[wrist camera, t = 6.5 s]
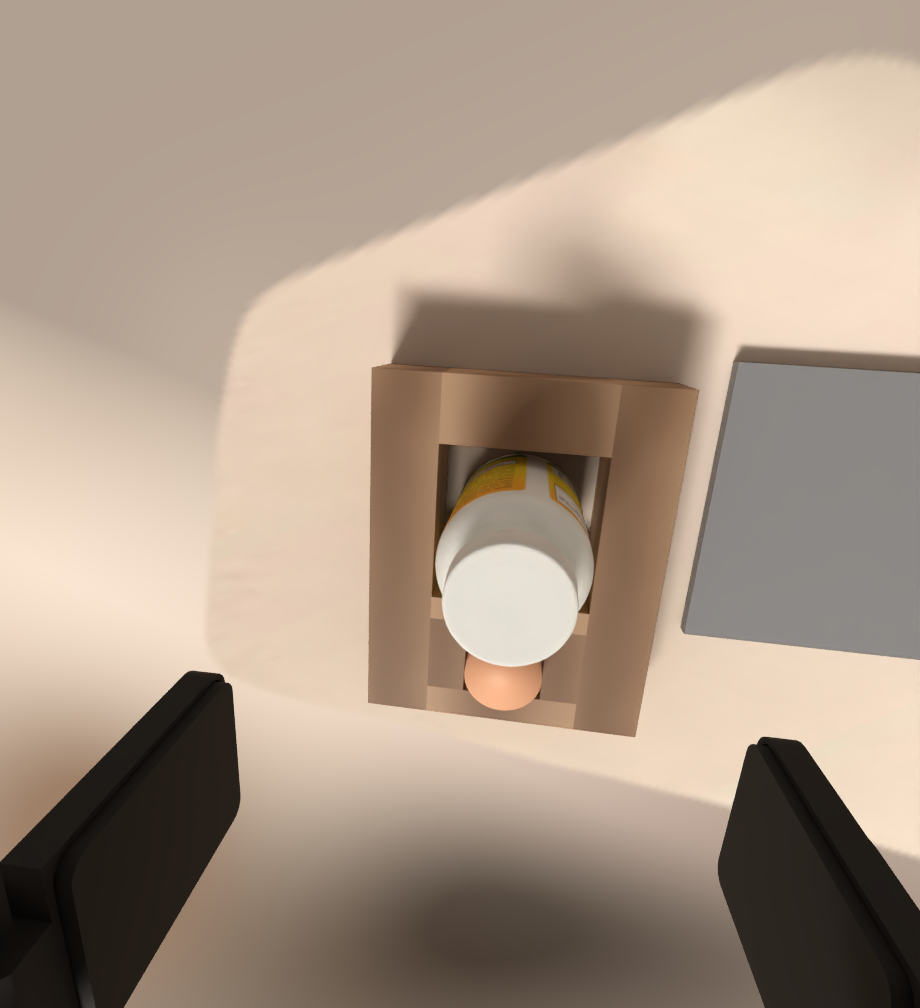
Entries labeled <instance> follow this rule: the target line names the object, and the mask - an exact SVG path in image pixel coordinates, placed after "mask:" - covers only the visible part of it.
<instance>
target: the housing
mask: <svg viewBox="0 0 920 1008" xmlns="http://www.w3.org/2000/svg"><path fill="white" fill-rule="evenodd" d="M698 393H699V390H697V389H694V388H691V387H688V386H685V385H682V384H679V383H667V382H653V381H638V380H623V379H608V378H594V377H579V376H564V375H550V374H535V373H520V372H505V371H491V370H476V369H461V368H447V367H432V366H417V365H403V364H387V365H382V366H377V367H373V368H372V392H371V486H370V580H369V675H368V703H374V704H382V705H390V706H397V707H405V708H413V709H421V710H428V711H436V712H444V713H452V714H459V715H467V716H475V717H483V718H490V719H498V720H506V721H514V722H521V723H529V724H537V725H545V726H552V727H560V728H568V729H575V730H583V731H591V732H599V733H606V734H614V735H622V736H630V737H635V735H636V730H637V725H638V719H639V714H640V708H641V703H642V697H643V692H644V686H645V681H646V676H647V670H648V665H649V659H650V654H651V648H652V643H653V638H654V632H655V627H656V621H657V616H658V610H659V605H660V600H661V594H662V589H663V583H664V578H665V572H666V567H667V562H668V556H669V551H670V545H671V540H672V534H673V529H674V524H675V518H676V513H677V507H678V502H679V496H680V491H681V486H682V480H683V475H684V469H685V464H686V458H687V453H688V447H689V442H690V437H691V431H692V426H693V420H694V415H695V409H696V404H697V399H698ZM449 445H461V446H474V447H486V448H498V449H510V450H523V451H535V452H547V453H559V454H572V455H584V456H596V457H600V461H599V468H598V475H597V483H596V490H595V497H594V505H593V512H592V519H591V527H590V534H589V539H590V543H591V548H592V553H593V559H594V574H593V581H592V585H591V588H590V591H589V594H588V597H587V599H586V600H585V602H584V604H583V606H582V607H581V609H580V610H579V611H578V618H577V621H576V625H575V627H574V630H573V632H572V634H571V636H570V637H569V638H568V640H567V641H566V643H565V644H564V645H563V646H562V647H561V648H560V649H559V650H558V651H557V652H555V653H554V654H553V655H551V656H550V657H548V658H546V659H544V660H542V661H541V665H542V684H541V688H540V690H539V692H538V694H537V696H536V697H535V698H534V699H533V700H532V701H531V702H530V703H529V704H527V705H525V706H524V707H521V708H518V709H515V710H506V711H504V710H496V709H492V708H489V707H487V706H485V705H483V704H481V703H480V702H478V701H477V700H476V699H475V698H474V697H473V696H472V695H471V693H470V692H469V690H468V688H467V686H466V683H465V678H464V671H465V666H466V660H467V655H468V652H467V651H466V650H465V649H463V648H462V647H461V646H460V645H459V643H458V642H457V641H456V640H455V639H454V637H453V636H452V635H451V633H450V631H449V629H448V627H447V625H446V622H445V619H444V615H443V610H442V593H441V591H440V588H439V585H438V581H437V577H436V567H435V561H436V552H437V547H438V543H439V540H440V538H441V535H442V533H443V530H444V524H445V506H446V487H447V468H448V449H449Z"/></svg>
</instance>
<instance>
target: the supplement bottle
mask: <svg viewBox="0 0 920 1008" xmlns="http://www.w3.org/2000/svg"><path fill="white" fill-rule="evenodd" d="M435 567H436V577H437V581H438V585H439V588H440V591H441V593H442V610H443V615H444V619H445V622H446V625H447V627H448V629H449V631H450V633H451V635H452V636H453V637H454V639H455V640H456V641H457V642H458V643H459V645H460V646H461V647H462V648H463V649H465V650H466V651H467V652H469V653H470V654H471V655H473V656H475V657H476V658H478V659H480V660H483V661H485V662H488V663H491V664H494V665H499V666H508V667H517V666H525V665H529V664H533V663H537V662H540V661H542V660H544V659H546V658H548V657H550V656H551V655H553V654H554V653H555V652H557V651H558V650H559V649H560V648H561V647H562V646H563V645H564V644H565V643H566V641H567V640H568V638H569V637H570V636H571V634H572V632H573V630H574V627H575V625H576V621H577V618H578V611H579V610H580V609H581V607H582V606H583V604H584V602H585V600H586V599H587V597H588V594H589V591H590V588H591V585H592V581H593V574H594V559H593V553H592V548H591V543H590V539H589V535H588V532H587V528H586V524H585V521H584V518H583V513H582V509H581V506H580V501H579V498H578V495H577V492H576V490H575V488H574V486H573V484H572V482H571V481H570V479H569V478H568V476H567V475H566V474H565V473H564V472H563V471H562V470H561V469H560V468H559V467H557V466H556V465H555V464H553V463H552V462H550V461H548V460H546V459H544V458H541V457H539V456H535V455H531V454H521V453H517V454H509V455H505V456H501V457H499V458H496V459H493V460H491V461H489V462H488V463H486V464H484V465H483V466H481V467H480V468H479V469H478V470H477V471H476V472H475V473H474V474H473V475H472V476H471V477H470V478H469V480H468V481H467V483H466V484H465V486H464V488H463V490H462V492H461V495H460V497H459V499H458V501H457V503H456V506H455V508H454V510H453V512H452V514H451V516H450V518H449V520H448V522H447V524H446V526H445V528H444V530H443V533H442V535H441V538H440V540H439V543H438V547H437V552H436V561H435Z"/></svg>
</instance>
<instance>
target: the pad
mask: <svg viewBox="0 0 920 1008" xmlns="http://www.w3.org/2000/svg"><path fill="white" fill-rule="evenodd" d="M681 629H682V631H683V633H684V634H690V635H700V636H709V637H718V638H727V639H736V640H745V641H754V642H763V643H772V644H781V645H790V646H799V647H808V648H817V649H826V650H835V651H844V652H853V653H862V654H871V655H880V656H890V657H899V658H908V659H917V660H920V373H910V372H894V371H878V370H863V369H847V368H831V367H816V366H800V365H784V364H768V363H753V362H737V361H734V362H733V367H732V372H731V377H730V382H729V387H728V392H727V397H726V402H725V408H724V413H723V418H722V423H721V428H720V433H719V438H718V443H717V448H716V453H715V458H714V463H713V468H712V473H711V478H710V483H709V488H708V493H707V498H706V503H705V508H704V513H703V518H702V523H701V528H700V533H699V538H698V543H697V548H696V553H695V558H694V563H693V568H692V573H691V578H690V583H689V588H688V593H687V598H686V603H685V608H684V613H683V618H682V623H681Z"/></svg>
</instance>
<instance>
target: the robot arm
mask: <svg viewBox="0 0 920 1008" xmlns="http://www.w3.org/2000/svg"><path fill="white" fill-rule="evenodd" d="M239 805H240V784H239V770H238V757H237V744H236V730H235V717H234V704H233V691H232V686H231V685H230V684H229V683H225V680H224V677H223V676H222V675H221V674H216V673H208V672H198V671H189V672H187V673H186V674H185V675H184V676H183V677H182V678H181V679H180V680H179V681H178V682H177V683H176V684H175V685H174V686H173V687H172V688H171V689H170V690H169V691H168V692H167V693H166V694H165V695H164V696H163V697H162V698H161V699H160V700H159V701H158V702H157V703H156V704H155V705H154V706H153V707H152V708H151V709H150V710H149V711H148V712H147V713H146V714H145V715H144V716H143V717H142V718H141V719H140V720H139V721H138V722H137V723H136V724H135V725H134V726H133V727H132V729H130V730H129V732H128V733H127V734H126V735H125V736H124V737H123V738H122V739H121V740H120V741H119V742H118V743H117V744H116V745H115V746H114V747H113V748H112V749H111V750H110V751H109V752H108V753H107V754H106V755H105V756H104V757H103V758H102V759H101V760H100V761H99V762H98V763H97V764H96V765H95V766H94V767H93V768H92V769H91V770H90V771H89V772H88V773H87V774H86V775H85V776H84V777H83V778H82V779H81V780H80V781H79V782H78V783H77V784H76V785H75V786H74V787H73V788H72V789H71V790H70V791H69V793H67V794H66V796H64V798H63V799H62V800H61V801H60V802H59V803H58V804H57V805H56V806H55V807H54V808H53V809H52V810H51V811H50V812H49V813H48V814H47V815H46V816H45V817H44V818H43V819H42V820H41V821H40V822H39V823H38V824H37V825H36V826H35V827H34V828H33V829H32V830H31V831H30V832H29V833H28V834H27V835H26V836H25V837H24V838H23V839H22V840H21V841H20V842H19V843H18V844H17V845H16V846H15V847H14V848H13V849H12V850H11V851H10V852H9V854H7V855H6V857H5V858H4V859H3V860H2V861H1V862H0V1008H124V1006H125V1004H126V1003H127V1001H128V999H129V998H130V996H131V994H132V993H133V991H134V989H135V987H136V986H137V984H138V982H139V981H140V979H141V977H142V975H143V974H144V972H145V970H146V969H147V967H148V965H149V964H150V962H151V960H152V958H153V957H154V955H155V953H156V952H157V950H158V948H159V946H160V945H161V943H162V942H163V940H164V938H165V936H166V934H167V933H168V931H169V930H170V928H171V926H172V925H173V923H174V921H175V919H176V918H177V916H178V914H179V913H180V911H181V909H182V907H183V906H184V904H185V902H186V901H187V899H188V897H189V896H190V894H191V892H192V890H193V889H194V887H195V885H196V884H197V882H198V880H199V878H200V877H201V875H202V873H203V872H204V870H205V868H206V867H207V865H208V863H209V862H210V860H211V858H212V856H213V854H214V853H215V851H216V850H217V848H218V846H219V844H220V843H221V841H222V839H223V838H224V836H225V834H226V833H227V831H228V829H229V827H230V826H231V824H232V822H233V821H234V819H235V817H236V814H237V812H238V809H239ZM718 876H719V881H720V885H721V888H722V891H723V893H724V896H725V899H726V902H727V905H728V907H729V910H730V913H731V916H732V918H733V921H734V924H735V926H736V929H737V932H738V935H739V937H740V940H741V943H742V946H743V949H744V951H745V954H746V957H747V960H748V962H749V965H750V968H751V971H752V973H753V976H754V979H755V981H756V984H757V987H758V990H759V993H760V995H761V998H762V1001H763V1004H764V1006H765V1008H920V910H919V909H918V907H917V906H916V904H915V903H914V902H913V900H912V899H911V898H910V896H909V894H908V893H907V892H906V890H905V889H904V887H903V886H902V885H901V883H900V881H899V880H898V879H897V877H896V876H895V874H894V873H893V871H892V870H891V869H890V867H889V866H888V864H887V863H886V861H885V860H884V858H883V857H882V856H881V854H880V853H879V851H878V850H877V848H876V847H875V846H874V845H873V843H872V842H871V841H870V840H869V839H868V837H867V836H866V835H865V833H864V832H863V830H862V829H861V827H860V826H859V824H858V823H857V822H856V820H855V819H854V817H853V816H852V814H851V813H850V811H849V810H848V808H847V807H846V806H845V804H844V803H843V801H842V800H841V798H840V797H839V795H838V794H837V793H836V791H835V790H834V788H833V787H832V785H831V784H830V782H829V781H828V780H827V778H826V777H825V775H824V774H823V772H822V771H821V769H820V768H819V766H818V765H817V764H816V762H815V761H814V759H813V758H812V756H811V755H810V753H809V752H808V751H807V749H806V748H805V746H804V745H803V744H802V743H801V742H799V741H797V740H789V739H780V738H771V737H761V738H760V740H759V741H758V743H757V745H755V744H751V745H750V746H749V747H748V749H747V752H746V755H745V759H744V763H743V767H742V771H741V775H740V779H739V783H738V786H737V790H736V794H735V798H734V802H733V806H732V810H731V813H730V818H729V821H728V825H727V829H726V833H725V837H724V841H723V845H722V848H721V852H720V856H719V860H718Z"/></svg>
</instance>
